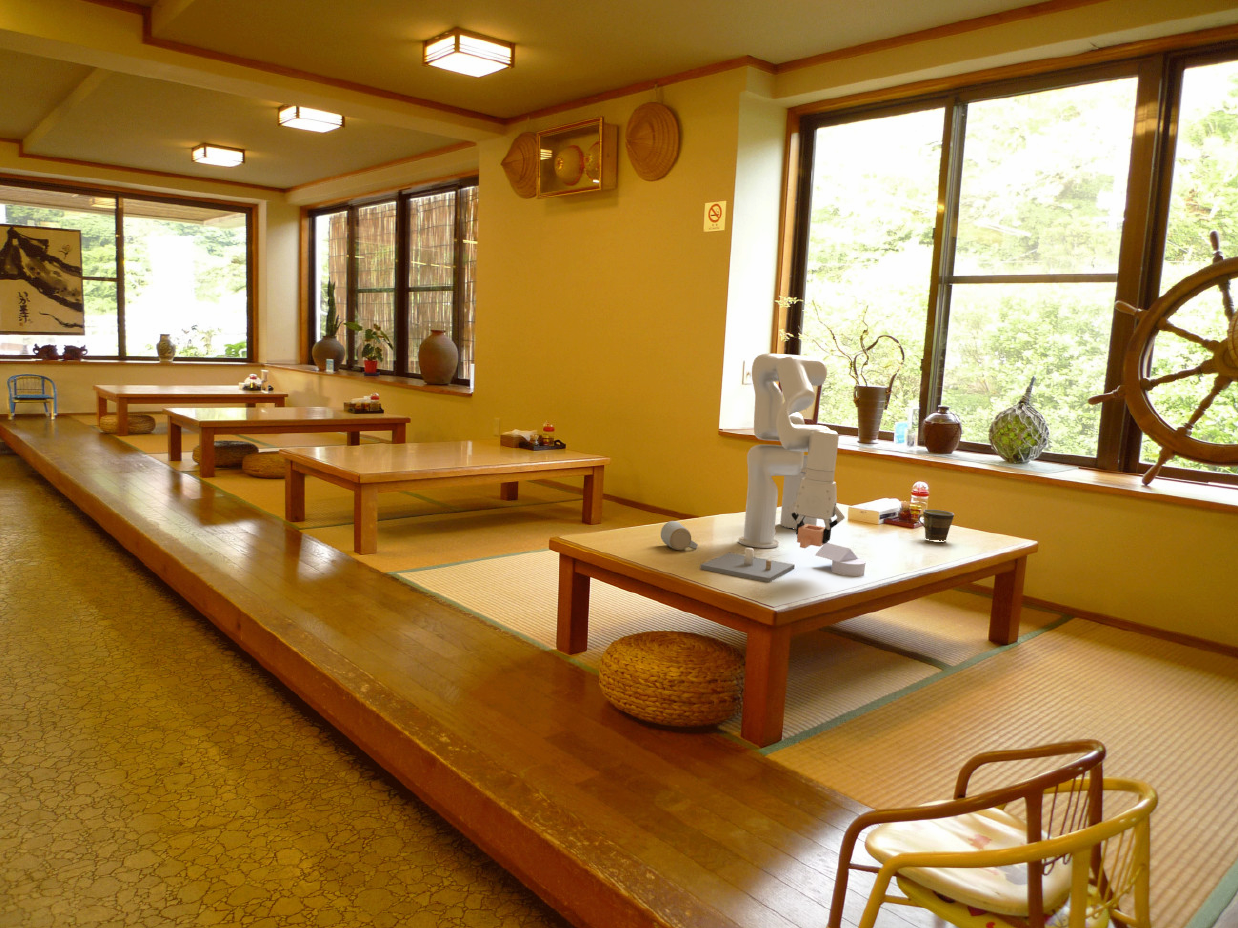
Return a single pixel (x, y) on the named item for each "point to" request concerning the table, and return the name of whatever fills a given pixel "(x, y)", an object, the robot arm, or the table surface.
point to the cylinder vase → (793, 499)
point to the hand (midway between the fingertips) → (812, 539)
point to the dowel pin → (768, 564)
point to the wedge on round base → (842, 560)
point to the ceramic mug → (677, 536)
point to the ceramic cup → (936, 524)
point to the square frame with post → (810, 535)
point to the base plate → (747, 566)
